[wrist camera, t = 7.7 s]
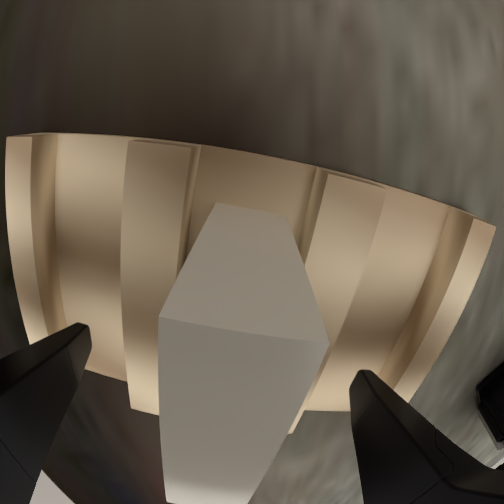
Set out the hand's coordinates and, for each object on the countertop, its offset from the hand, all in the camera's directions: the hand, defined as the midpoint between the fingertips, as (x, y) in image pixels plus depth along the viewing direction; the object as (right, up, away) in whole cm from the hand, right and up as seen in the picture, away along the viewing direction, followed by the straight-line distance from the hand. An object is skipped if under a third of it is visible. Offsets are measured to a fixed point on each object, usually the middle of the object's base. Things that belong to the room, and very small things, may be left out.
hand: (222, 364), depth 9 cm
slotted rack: (0, +1, +4) cm, 4 cm away
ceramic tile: (0, +1, +3) cm, 3 cm away
